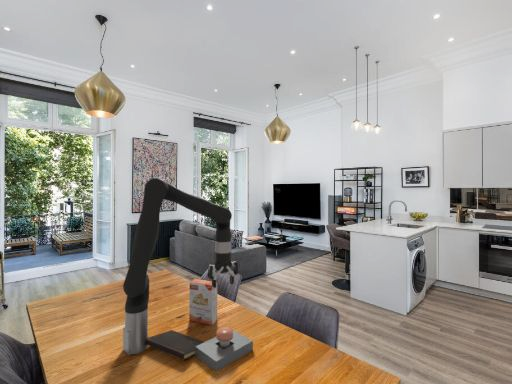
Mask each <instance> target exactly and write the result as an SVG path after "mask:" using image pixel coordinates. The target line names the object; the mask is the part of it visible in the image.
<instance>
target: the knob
mask: <svg viewBox="0 0 512 384" xmlns="http://www.w3.org/2000/svg"><path fill="white" fill-rule="evenodd" d="M233 330H234V328H233V329H232V327H228V326H223V327H220V328H218V329H217V330H216V337H217V340H219V341H220V347H222V348H223V349H226V348H227V347H229V346H230V340H232V338H233Z"/></svg>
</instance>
